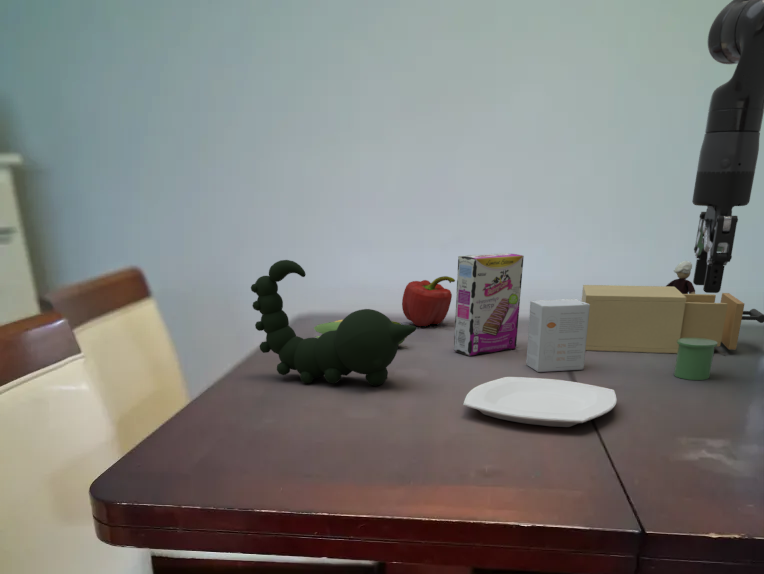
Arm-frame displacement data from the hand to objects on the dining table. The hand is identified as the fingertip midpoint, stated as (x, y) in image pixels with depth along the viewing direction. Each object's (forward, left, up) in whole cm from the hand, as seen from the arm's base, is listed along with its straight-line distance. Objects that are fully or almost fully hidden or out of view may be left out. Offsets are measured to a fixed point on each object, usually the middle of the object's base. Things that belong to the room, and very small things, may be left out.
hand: (705, 288), depth 111 cm
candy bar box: (+33, -13, -13) cm, 38 cm away
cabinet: (+8, -23, -13) cm, 28 cm away
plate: (+23, +23, -13) cm, 35 cm away
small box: (+21, -2, -13) cm, 25 cm away
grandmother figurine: (-4, -45, -13) cm, 47 cm away
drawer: (-5, -23, -12) cm, 26 cm away
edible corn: (+57, -15, -13) cm, 60 cm away
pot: (0, 0, -13) cm, 13 cm away
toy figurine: (+54, +13, -13) cm, 57 cm away
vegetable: (+47, -36, -13) cm, 61 cm away
